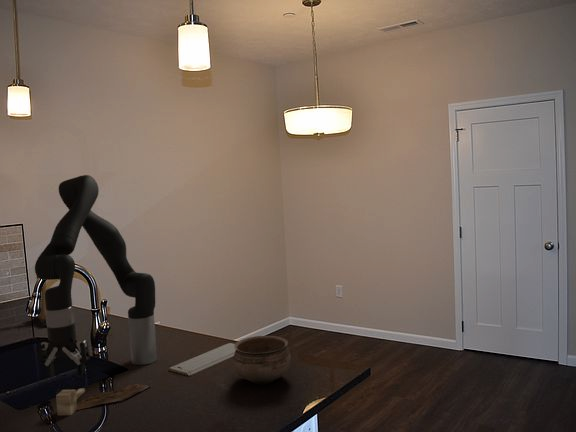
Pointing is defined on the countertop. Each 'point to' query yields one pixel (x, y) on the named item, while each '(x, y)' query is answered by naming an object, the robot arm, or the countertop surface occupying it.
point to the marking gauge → (68, 401)
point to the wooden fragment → (111, 396)
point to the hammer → (42, 318)
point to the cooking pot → (261, 358)
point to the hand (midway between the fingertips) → (66, 376)
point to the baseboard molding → (205, 360)
